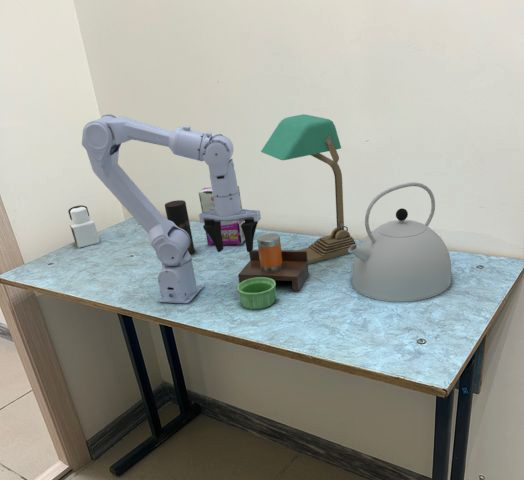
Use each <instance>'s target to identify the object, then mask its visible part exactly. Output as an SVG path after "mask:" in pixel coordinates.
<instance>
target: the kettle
mask: <svg viewBox="0 0 524 480" xmlns="http://www.w3.org/2000/svg"><path fill="white" fill-rule="evenodd" d="M410 187H418V188H421V189H423V190H424V191H426V192H427V194H428V195H429V198H430V204H431V208H430V214H429V215H428V218H427V220H426V221H425V223H423V222H419V221H416V220H412V219H407V218H408V216H409V213H408V210H407V209H405V208H399V209H397V210H396V212H395V219H396V220H389V221H387V222H385V223H383V224H381V225H379V226H378V227H376V228H375V229H373V230H372V231H371V228H370V214H371V211H372V208H373V207H374V206H375V204H376V203H377V201H379V200H380V199H381V198H382V197H384V196H385V195H388V194H389V193H392V192H394V191H396V190H400V189H404V188H410ZM435 210H436V200H435V195H434V192H432V189H430V187H428V186H427V185H425V184H424V183H421V182H415V181H414V182H405V183H402V184H398V185H395V186H392V187H389V188H387V189H385V190H383V191H381V192H380V193H379V194H377V195H376V196H375V197H374V198H373V199H372V201H370V203H369V205H368V207H367V209H366V212H365V216H364V227H365V231H366V233H367V236H365V238H364V239H363V240H362V241H361V243H360V244H358V243H356V244H355V245H352V246H351V247H350V248H349V249H348V252H350V253H349V254H351V255H352V256H354V257H353V262H352V271H351V273H352V279H351V283H352V287H353V288H354V290H355V291H357V293H359V294H361V295H363V296H365V297H368V298H371V299H373V300H378V301H383V302H384V301H385V302H392V303H393V302H394V303H397V302H398V303H399V302H400V303H402V302H403V303H405V302H406V303H407V302H415V301H422V300H427V299H429V298H434V297H436V296H438V295H440V294H442V293H443V292H445V291H446V290H447V289H448V288H449V287H450V286H451V284H452V259H451V255H450V252H449V249H448V247H447V245H446V243H445V241H444V240H443V239H442V237H441V236H440V235H439V234H438V233H437V232H436V231H435V230H434V229H432V228H431V227H429V226H430V223H431V222H432V219H433V218H434V215H435V212H436V211H435Z"/></svg>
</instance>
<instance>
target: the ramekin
mask: <svg viewBox="0 0 524 480" xmlns="http://www.w3.org/2000/svg"><path fill="white" fill-rule="evenodd" d="M276 285H277V283H276V280H273V279H271V278H267V277H256V278H250V279H247V280H244V281H242V282H241V283H239V282H238V285H237V287H236V289H237V293H238V296H239V298H240V299H239V300H240V303H241V305H242V306H243V307H244V308H246V309H249V310H261V309H265V308H268V307H271V306H272V305H273V304H274V303H275V302H276Z"/></svg>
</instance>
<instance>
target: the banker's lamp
mask: <svg viewBox="0 0 524 480" xmlns="http://www.w3.org/2000/svg"><path fill="white" fill-rule="evenodd" d="M334 123H335V122H334V121H332V120H331V119H329V118H325V117H320V116H315V115H311V114H306V113H305V114H297V115H293V116H288V117H284V118H283V119H282V120H280V122H279V123H278V124H277V126H276V127H275V128H274V131H273V132H272V133H271V135H270V136H269V138H268V140H267V141H266V142H265V144H264V146H263V147H262V149H261V151H260V153H262V154H265V155H267V156H270V157H271V158H272V157H273V158H275V159H277V160H279V161H287V160H292V159H297V158H303V157H306V156H311V157H313V158H315V159H317V160H319V161H321V162H323V163H325V164H326V165H328V166H329V167H330V168H331V170H332V172H333V175H334V189H335V190H334V194H335V215H336V218H335V219H336V227H335V228H333V229H332V231H331V233H330V234H329V235H326V236H321V237H319V238H316V239H315V241H314V242H313V243H311V244H310V245H308V246H307V247H304V248H300V249H299V250H307V259H308V265H311V264H315V263H318V262H322V261H326V260H330V259H334V258H338V257H342V256H345V255H348V254H351V253H350V252H348V249H349V248H350V247H351V246H352V245H355V244H357V243H356V241H355V239H354V238H353V236H351V233H350V232H349V228H348V226H346V225H345V217H344V215H345V214H344V189H343V174H342V169H341V167H340V165H339V161H340V155H339V152H338V151H337V150H340V149H342V146H341V142H340V139H339V135H338V131H337V128H336V125H335V124H334ZM326 152H329V154H330V156H331V158H329V157H327V156H326V155H324V154H322V153H326Z"/></svg>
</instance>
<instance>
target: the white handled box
mask: <svg viewBox="0 0 524 480" xmlns="http://www.w3.org/2000/svg"><path fill="white" fill-rule="evenodd" d="M67 213H68V216H69V219H70V221H69V222H68V223H69V227H70V230H71V233H72V237H73V240H74V242H75V245H76V246H77V248H78V249H80V248H84V247H88V246H92V245H97V244H100V242H101V241H100V238H99V234H98V231H97V228H96V224H95V221H94V220H93V218H92V217H90V212H89V209H88V207H87V206H86V205H81V204H80V205H74V206H71V207H70V208H69V209H68V211H67Z"/></svg>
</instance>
